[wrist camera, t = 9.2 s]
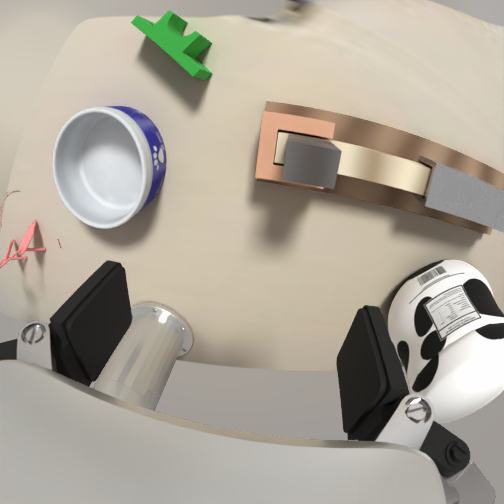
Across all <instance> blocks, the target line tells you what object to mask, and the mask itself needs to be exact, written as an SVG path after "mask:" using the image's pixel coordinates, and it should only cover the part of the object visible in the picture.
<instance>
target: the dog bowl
mask: <svg viewBox="0 0 504 504" xmlns="http://www.w3.org/2000/svg"><path fill="white" fill-rule="evenodd" d="M52 168H53V177H54V181H55V185H56V188H57V191H58V193H59V195H60V197H61V199H62V201H63V203H64V204H65V206H66V207H67V208H68V210H69V211H70V212H71V213H72V214H73V215H74V216H75V217H76V218H77V219H79V220H80V221H82V222H83V223H85V224H87V225H89V226H92V227H95V228H99V229H110V228H115V227H118V226H120V225H122V224H124V223H126V222H127V221H128V220H130V219H131V218H132V217H133V216H135V215H136V214H137V213H138V212H139V211H141V210H142V209H143V208H144V207H145V206H146V205H147V204H148V203H150V202H151V201H152V199H153V198H154V197H155V196H156V194H157V193H158V191H159V190H160V188H161V185H162V183H163V180H164V176H165V171H166V152H165V146H164V143H163V139H162V137H161V135H160V133H159V131H158V129H157V127H156V126H155V125H154V123H153V122H152V121H151V120H150V119H149V118H148V117H147V116H146V115H145V114H143V113H142V112H140V111H138V110H136V109H133V108H130V107H125V106H109V107H95V108H89V109H85V110H83V111H80V112H79V113H77V114H75V115H74V116H73V117H71V118H70V119H69V120H68V121H67V122H66V124H65V125H64V126H63V128H62V129H61V131H60V133H59V135H58V137H57V140H56V143H55V146H54V151H53V159H52Z"/></svg>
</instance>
